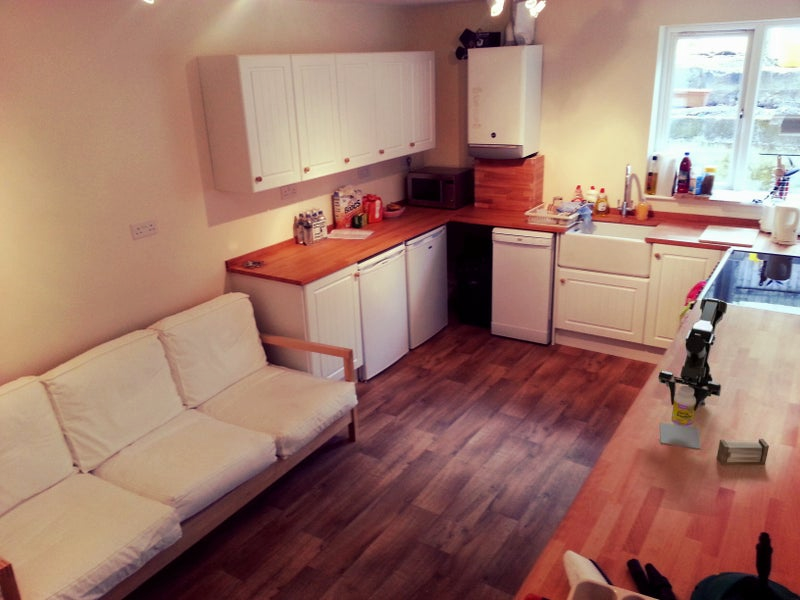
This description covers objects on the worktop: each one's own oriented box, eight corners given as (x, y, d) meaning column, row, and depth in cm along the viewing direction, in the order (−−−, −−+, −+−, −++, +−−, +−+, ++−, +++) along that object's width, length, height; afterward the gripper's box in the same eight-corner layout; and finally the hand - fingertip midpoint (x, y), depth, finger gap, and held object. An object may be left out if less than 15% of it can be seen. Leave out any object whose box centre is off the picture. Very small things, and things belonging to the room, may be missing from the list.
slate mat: (660, 423, 226) (660, 422, 225) (698, 429, 222) (698, 428, 222) (660, 443, 215) (660, 442, 215) (700, 449, 211) (700, 448, 211)
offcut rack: (716, 458, 207) (719, 439, 204) (759, 457, 206) (763, 438, 204) (721, 465, 203) (725, 446, 201) (765, 464, 203) (769, 446, 200)
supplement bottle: (672, 427, 215) (676, 393, 210) (670, 416, 220) (674, 383, 215) (694, 429, 213) (698, 395, 208) (691, 418, 219) (696, 385, 214)
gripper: (662, 349, 215) (651, 393, 211) (725, 362, 206) (714, 408, 202) (665, 359, 224) (654, 402, 220) (725, 372, 215) (714, 417, 211)
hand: (683, 407), depth 213 cm, fingers closed on supplement bottle, 7 cm apart
